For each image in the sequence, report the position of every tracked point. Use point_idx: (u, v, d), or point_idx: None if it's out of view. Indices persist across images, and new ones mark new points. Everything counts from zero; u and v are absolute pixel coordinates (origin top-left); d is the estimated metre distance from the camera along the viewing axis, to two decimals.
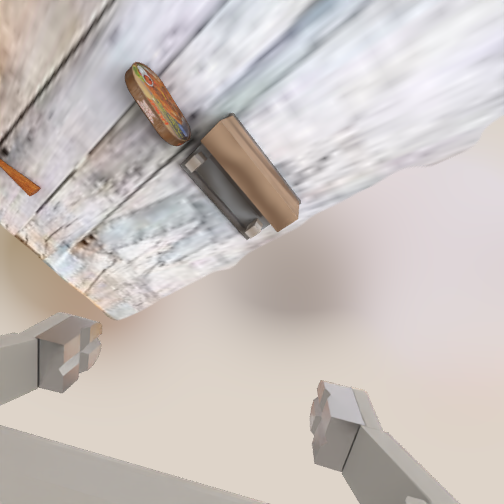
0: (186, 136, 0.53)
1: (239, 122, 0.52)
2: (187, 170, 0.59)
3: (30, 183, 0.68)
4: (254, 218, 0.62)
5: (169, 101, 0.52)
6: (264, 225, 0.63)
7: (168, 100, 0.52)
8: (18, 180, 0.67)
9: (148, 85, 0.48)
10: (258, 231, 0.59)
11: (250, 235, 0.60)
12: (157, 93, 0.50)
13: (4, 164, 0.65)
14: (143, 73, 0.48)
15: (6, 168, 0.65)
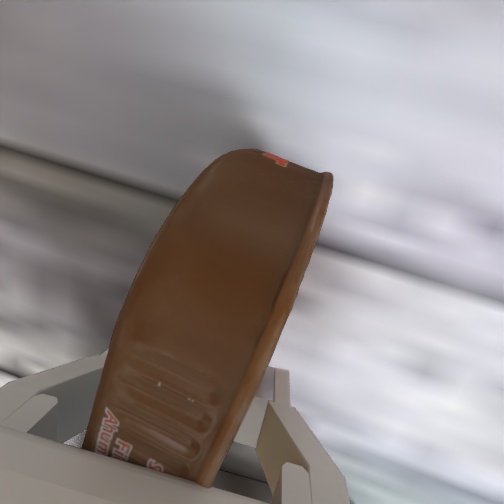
0: None
1: None
2: None
3: None
4: None
5: None
6: None
7: None
8: None
9: None
10: None
11: None
12: None
13: None
14: None
15: None
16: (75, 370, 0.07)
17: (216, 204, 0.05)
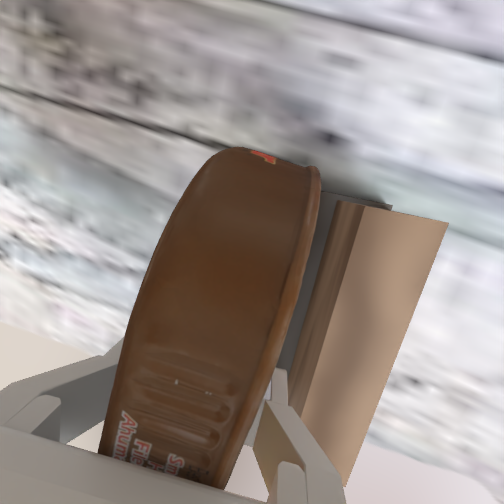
0: None
1: None
2: None
3: None
4: None
5: None
6: None
7: None
8: None
9: None
10: None
11: None
12: None
13: None
14: None
15: None
16: (78, 371, 0.07)
17: (216, 205, 0.05)
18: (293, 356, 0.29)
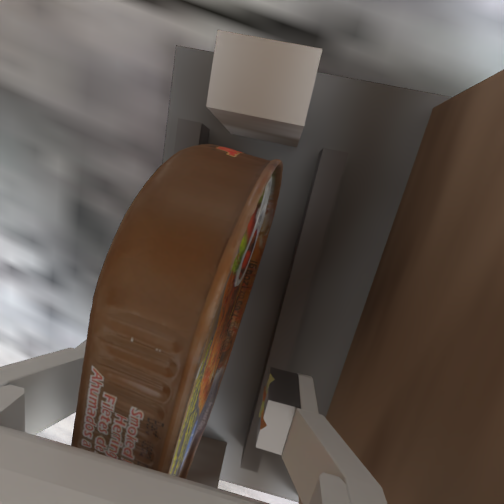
0: (182, 466, 0.12)
1: None
2: (182, 95, 0.12)
3: None
4: (216, 435, 0.16)
5: (232, 316, 0.13)
6: (220, 473, 0.16)
7: (233, 314, 0.13)
8: None
9: (231, 287, 0.08)
10: None
11: None
12: (229, 309, 0.10)
13: None
14: None
15: None
16: (47, 362, 0.07)
17: (170, 190, 0.05)
18: None
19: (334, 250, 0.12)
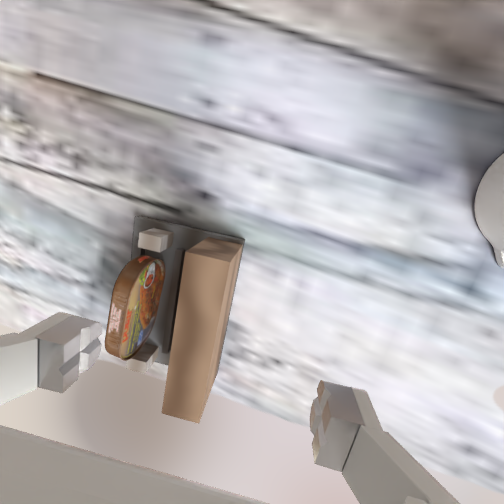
0: (138, 345, 0.39)
1: (241, 255, 0.38)
2: (137, 229, 0.38)
3: None
4: (154, 343, 0.42)
5: (155, 297, 0.39)
6: (157, 359, 0.43)
7: (154, 297, 0.39)
8: None
9: (144, 288, 0.35)
10: (143, 371, 0.39)
11: (129, 365, 0.39)
12: (147, 294, 0.36)
13: None
14: (151, 271, 0.35)
15: None
16: None
17: (126, 272, 0.32)
18: None
19: None
